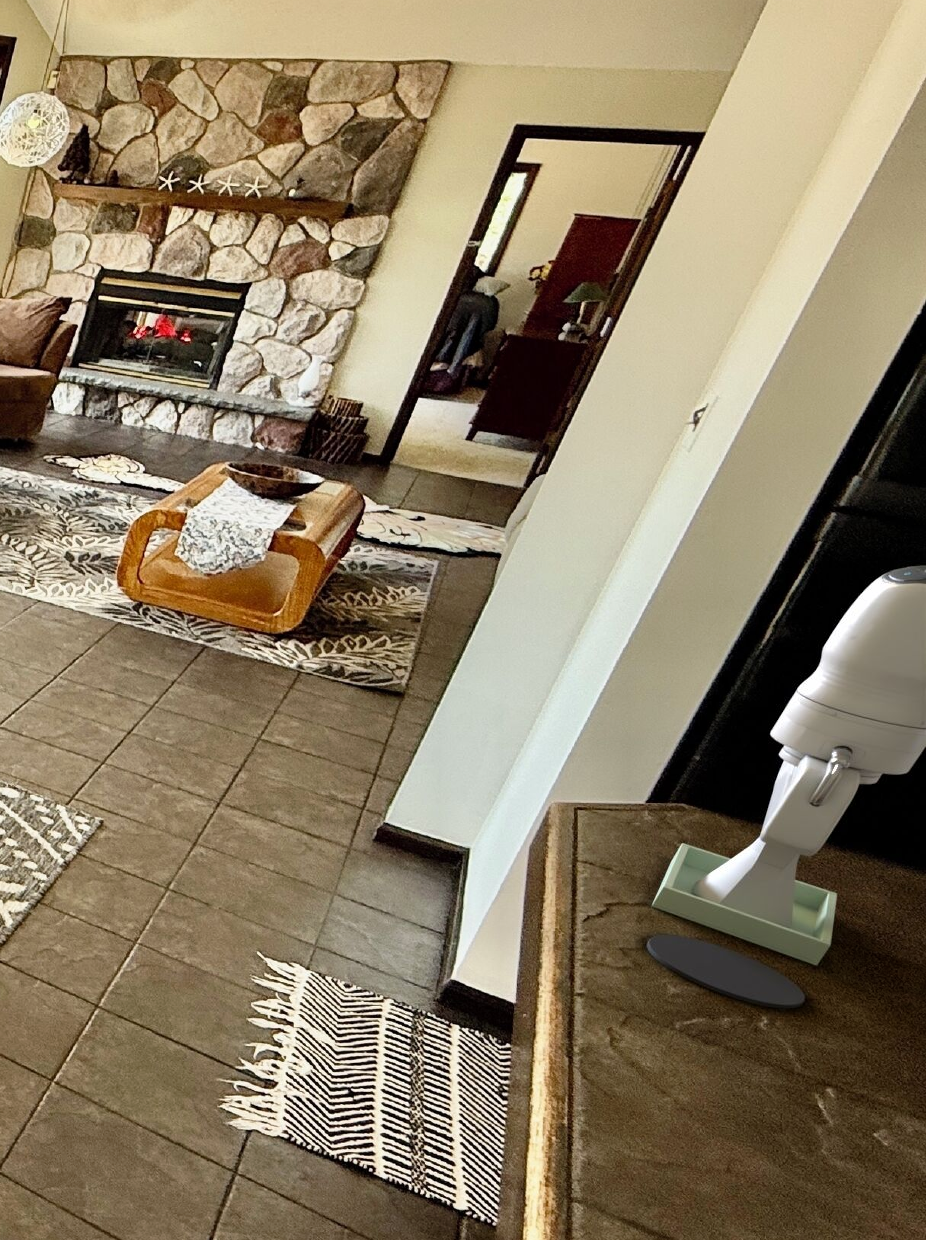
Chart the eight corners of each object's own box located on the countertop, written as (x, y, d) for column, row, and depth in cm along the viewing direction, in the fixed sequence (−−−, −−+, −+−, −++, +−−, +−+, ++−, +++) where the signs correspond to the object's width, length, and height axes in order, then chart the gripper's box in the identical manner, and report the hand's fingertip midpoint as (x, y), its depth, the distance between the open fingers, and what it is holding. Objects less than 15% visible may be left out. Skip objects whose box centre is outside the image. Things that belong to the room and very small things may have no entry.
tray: (671, 861, 121) (682, 842, 120) (824, 912, 113) (837, 893, 112) (651, 906, 112) (663, 886, 111) (816, 965, 104) (830, 945, 103)
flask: (774, 902, 113) (831, 816, 109) (806, 938, 108) (867, 847, 104) (678, 878, 117) (729, 793, 113) (704, 911, 111) (759, 822, 107)
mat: (768, 961, 104) (770, 957, 104) (828, 1023, 96) (831, 1019, 95) (628, 926, 108) (630, 922, 108) (674, 983, 99) (676, 979, 99)
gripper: (897, 778, 96) (805, 913, 102) (899, 725, 108) (816, 849, 114) (790, 748, 100) (707, 879, 106) (804, 701, 113) (729, 821, 118)
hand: (764, 863), depth 110 cm, fingers open, 8 cm apart
